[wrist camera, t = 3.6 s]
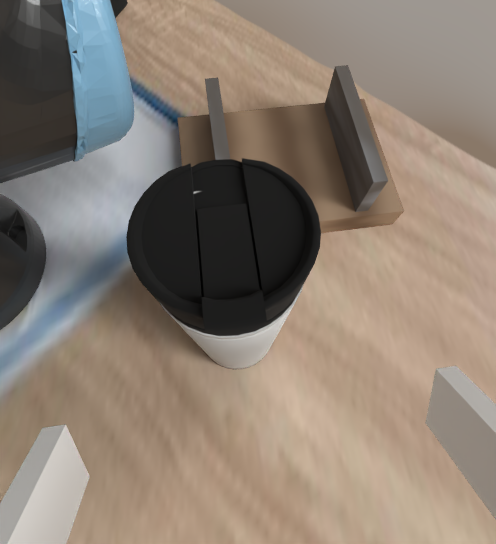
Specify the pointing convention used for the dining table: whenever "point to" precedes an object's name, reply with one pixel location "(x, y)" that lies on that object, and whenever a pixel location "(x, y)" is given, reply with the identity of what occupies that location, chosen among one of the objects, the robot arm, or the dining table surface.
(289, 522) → the dining table surface
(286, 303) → the travel mug
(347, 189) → the wooden rack
